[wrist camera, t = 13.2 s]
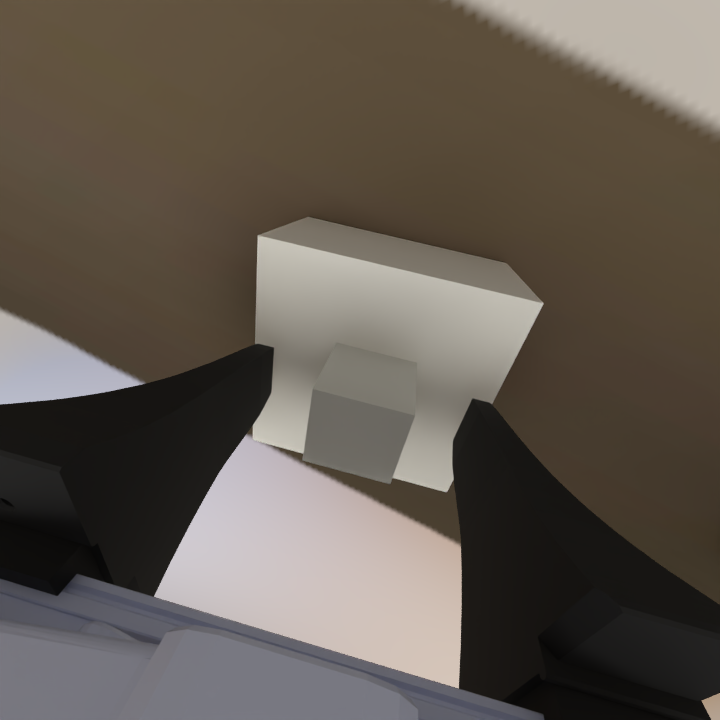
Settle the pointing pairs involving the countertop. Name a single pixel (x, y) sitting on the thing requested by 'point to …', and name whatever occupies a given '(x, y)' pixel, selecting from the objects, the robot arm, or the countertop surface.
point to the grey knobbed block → (381, 346)
